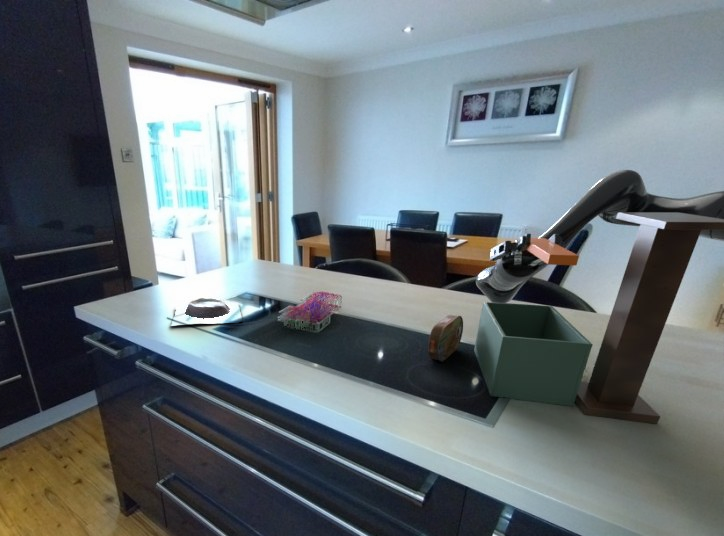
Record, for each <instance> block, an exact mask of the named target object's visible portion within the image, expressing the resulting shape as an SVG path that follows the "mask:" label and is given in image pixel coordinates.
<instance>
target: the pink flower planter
mask: <svg viewBox="0 0 724 536" xmlns="http://www.w3.org/2000/svg"><path fill="white" fill-rule="evenodd" d="M342 297H343V294H338V293H332V292H328V291H313V292H312V293H310V294H308V295H306V296H305V297H303V298H302V299H300V301H301V302H300V303H298V304H297V305H288V306H285V307H284V308H282V309H281V310H279V311H278V314H280V315H279V316H277V322H283V324H284V326H286V327H287V324H289V325H288V328H289V327H290V328H291V326H292V329H294V328H296V329H295V330H300V329H301V330H302V331H305V330H306V331H307V332H308V330H310V332H311V333H313V327H315V328H314V333H317V334H318V333H319V332H321V331H322V330H323V329H324V328H326V327H327V326H328V324H330V323H331V316H332V315H334V314H335V313H336V312H338V311H339V310H340V309H342V304H343V303H342V302H343V301H342V300H343V298H342ZM308 309H309V310H308ZM333 309H334V310H333ZM302 321H303V323H302ZM290 324H291V325H290ZM321 324H322V325H321ZM294 325H295V326H294ZM313 325H314V326H313ZM320 325H321V326H320ZM304 327H305V328H304ZM320 327H321V328H320ZM302 328H303V329H302ZM301 330H300V331H301Z"/></svg>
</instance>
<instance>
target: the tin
mask: <svg viewBox="0 0 724 536" xmlns="http://www.w3.org/2000/svg"><path fill="white" fill-rule="evenodd" d="M463 333H464V319H463V317H462V316H461V315H453V314H449V315H446V316H445V317H444V318H443V319H441V320H440V321H438V322H437V323H436V324H434V326H433V327H432V329H431V331H430V333H429V338H428V351H427V354H428V358H430V359H432V360H435V361H439V362H445V361H446V360H447V359H448V358H449V357H450V356H451V355H452V354H453V353H454V352H456V350H458V348H459V347H460V343H461V341H462V337H463Z"/></svg>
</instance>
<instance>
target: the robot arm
mask: <svg viewBox="0 0 724 536" xmlns="http://www.w3.org/2000/svg"><path fill="white" fill-rule="evenodd" d="M618 212H669V213H685V214H692V215H699V216H705V217H712V218H719V219H724V190H720V191H714V192H708V193H704V194H700V195H695V196H691V197H685V198H683V197H682V198H681V197H680V198H676V197H668V196H663V195H662V196H661V195H657V194H652V193H649V192H647V189H646V186H645V182H644V181H643V178H642V176H641V174H640V173H639V172H637V171H636V170H632V169H620V170H617V171H614V172H611V173H609V174H607V175H606V176H604V177H602V178H601V179H600V180H598V181H597V182H596V183H595V184H594V185H593V186H591V188H589V190H587V191H586V193H585V194H583V195H582V196H581V197H580V198H579V200H577V201H576V202H575V203H574V204H573V205H572V206H571V207H570V208H569V209H568V210H567V211H566V212H565V213H564V214H563V215H562V216H561V217H559V219H558V220H556V222H555V223H554V224H552V226H550V227H549V228H548V229H547V230H546V231H544V232H543V233H542V234H541V235H539V236H538V237H537V238H545V239H547V240H549V241H551V242H553V243H555V244H557V245H559V246H561V247H563V248H565V249H567V248H568V247H569V246H570V245H571V244H572V242H573V241H574V239H575V238H576V237H577V236H578V235H579V233H580V232H581V231H582V230H583V229H584V228H585V227H586V226H587V225H588V224H589V223H590V222H592V221H593V220H594V219H595V218H597V217H599V218H600V219H601V220H602V221H603V222H606V223H608V224H611V225H612V224H613V225H619V226H629V227H638V228H639V227H640V224H638V223H633V222H629V221H624V220H620V219H616V217H617V214H618ZM699 237H700V238H701V237H702V238H705V239H710V240H715V241H719V242H724V230H701V232H700V235H699ZM531 238H532V233H525V234H524V235H522V236H520V237H519V238H518V239H516V240H515V241H514V242H512V240H504V241H503V242H501V243H499V244H498V245H496V246H494V247H492V248H490V255H489V261H490V262H495V263H494V265H492V266H489V267H486V268H484V269H483V270H482V271H480V272H479V273H478V274H477V275H476V277H475V284H476V287H477V288H478V289H479V290H480V291H481V292H482V294H483V295H484V296H485V297H486V298H487V299H488V300H489V302H495V303H510V302H511V300H513V298H514V297H515V296H517V294H518V293H519V291H520V290H521V289H522V288H523V286H525V284H526V283H527V282H529V280H531V279H532V278H533V277H534V276H536V274H538V273H539V272H541V271H543V269H545V268H546V267H548V266H549V264H547V263H545V262H544V261H542V260H541V259H539V258H538V257H536V256H535V255H534V254H532V253H531V252H529V251H528V250H526V248H527V247H528V246H529V244H530V241H531Z"/></svg>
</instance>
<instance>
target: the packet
mask: <svg viewBox="0 0 724 536" xmlns="http://www.w3.org/2000/svg"><path fill="white" fill-rule="evenodd" d="M526 250H528V251H529V252H531V253H532V254H534V255H535V256H536V257H538V258H539V259H541V260H542V261H544V262H545V263H547V264H549V265H551V266H577V265H578V261H579V258H580V255H578V254H577V253H574V252H573V251H570V250H569V249H567V248H566V249H565V248H563V247H561V246H559V245H557V244H555V243H553V242H551V241H549V240H547V239H545V238H538V237H531V241H530V244H529V246H528V247H527V248H526ZM549 265H548V266H549Z"/></svg>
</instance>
